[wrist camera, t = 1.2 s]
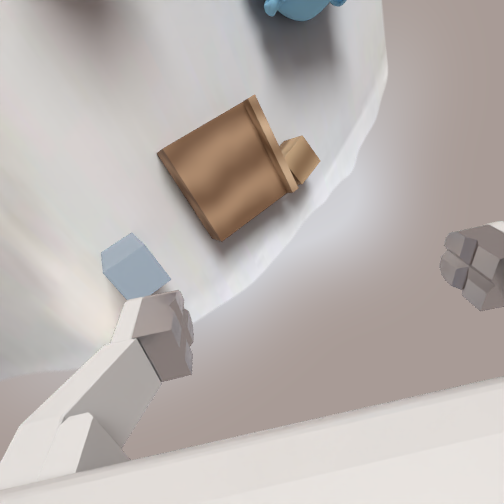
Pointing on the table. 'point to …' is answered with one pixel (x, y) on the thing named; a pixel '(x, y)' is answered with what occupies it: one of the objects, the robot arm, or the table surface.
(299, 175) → the stained oak block
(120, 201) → the table surface
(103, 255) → the slate-blue pillar block
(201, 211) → the walnut plinth
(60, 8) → the table surface
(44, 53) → the table surface
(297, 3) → the decorative pot
